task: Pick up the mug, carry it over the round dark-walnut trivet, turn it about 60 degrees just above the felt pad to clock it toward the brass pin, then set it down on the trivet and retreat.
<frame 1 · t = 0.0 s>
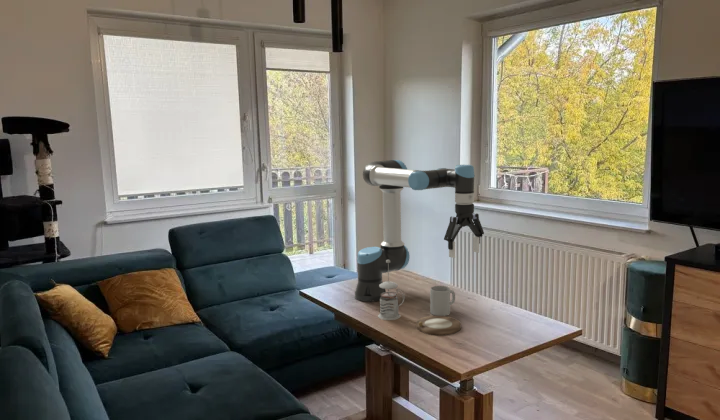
hand: (464, 254, 214), 28 cm above the table, fingers open, 13 cm apart
french press: (391, 316, 225), on the table
mug: (443, 312, 228), on the table
trivet: (438, 326, 212), on the table
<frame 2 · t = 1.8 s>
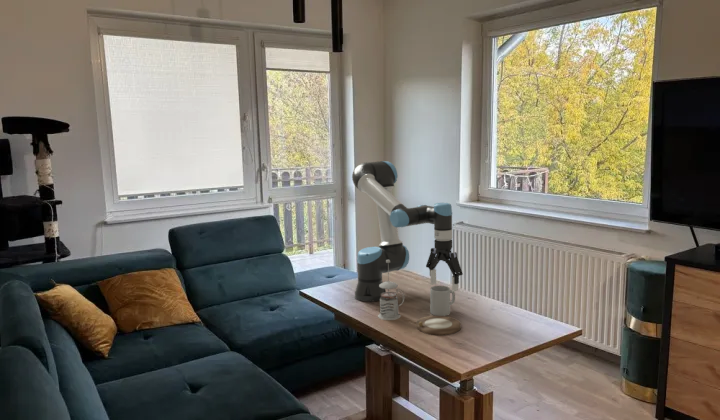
hand: (444, 287, 226), 11 cm above the table, fingers open, 13 cm apart
nothing on the table moved.
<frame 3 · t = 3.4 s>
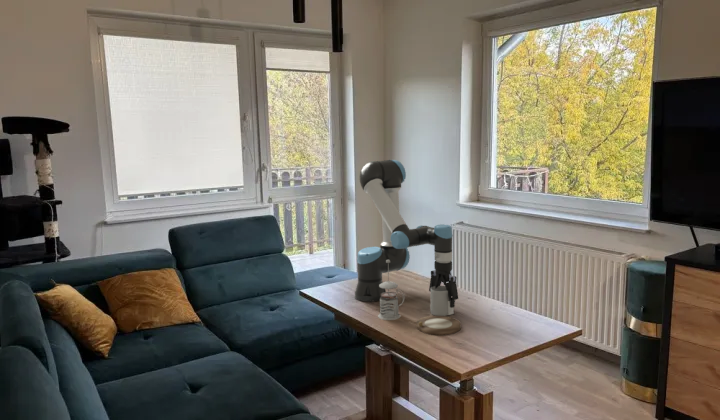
hand: (443, 311, 228), 0 cm above the table, fingers closed on mug, 8 cm apart
mug: (443, 312, 228), on the table, touching gripper
everything else where it was.
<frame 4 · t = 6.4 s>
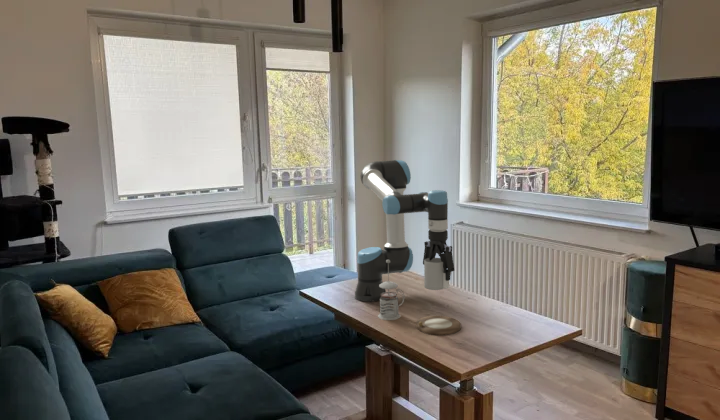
hand: (438, 285, 209), 17 cm above the table, fingers closed on mug, 8 cm apart
mug: (438, 286, 209), point 17 cm above the table, touching gripper
everything else where it was.
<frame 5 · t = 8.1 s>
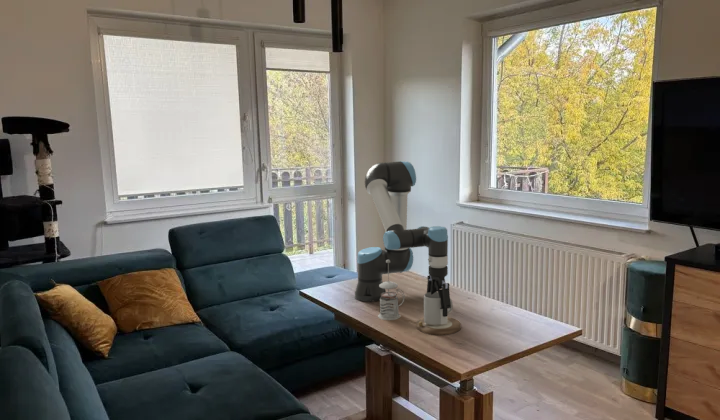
hand: (438, 319, 211), 3 cm above the table, fingers closed on mug, 8 cm apart
mug: (438, 321, 211), point 2 cm above the table, touching gripper
everything else where it was.
when the fingers open (2 cm above the table, at t = 9.4 s): mug stays where it is, resting on trivet.
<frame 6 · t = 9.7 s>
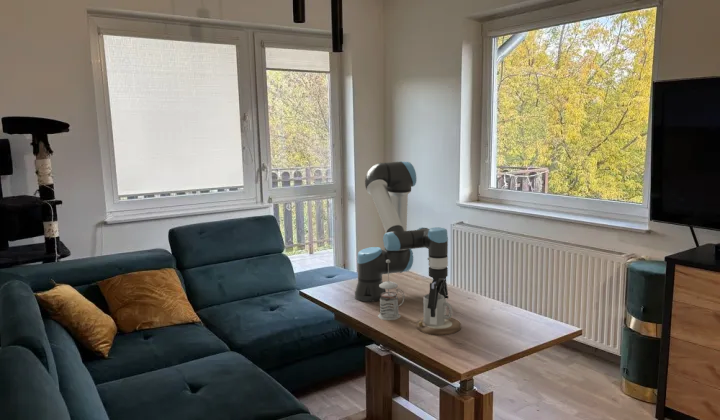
hand: (438, 318, 211), 3 cm above the table, fingers open, 11 cm apart
mug: (438, 323, 211), point 1 cm above the table, touching trivet
everything else where it was.
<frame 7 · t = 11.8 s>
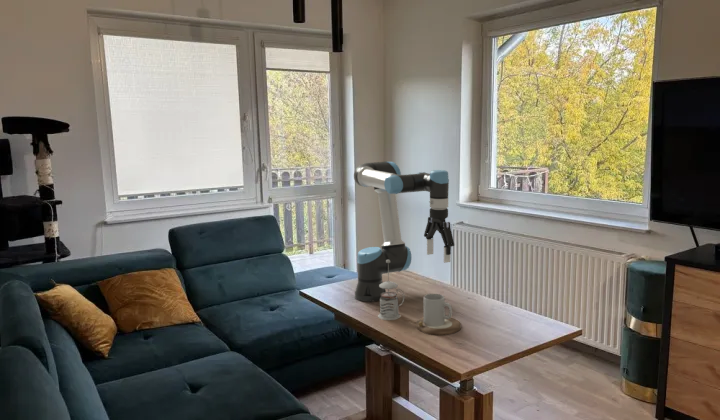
hand: (438, 258, 218), 26 cm above the table, fingers open, 13 cm apart
nothing on the table moved.
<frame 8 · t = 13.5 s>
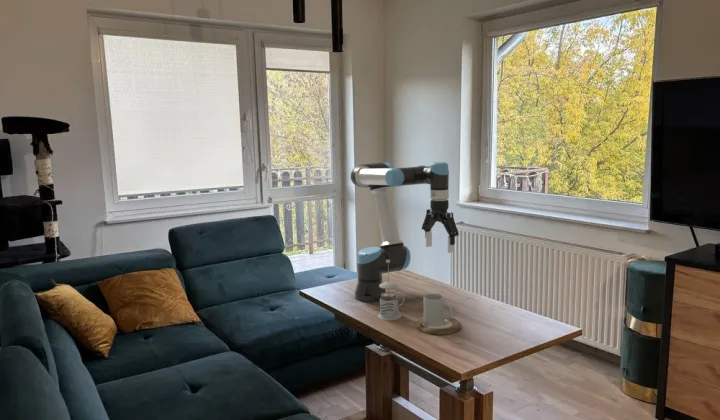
hand: (439, 249, 221), 29 cm above the table, fingers open, 13 cm apart
nothing on the table moved.
at the end: mug inside the target area on the trivet (0.2 cm from its centre), point 1.1 cm above the trivet's base; mug tilted 0°; the gripper is holding nothing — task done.
